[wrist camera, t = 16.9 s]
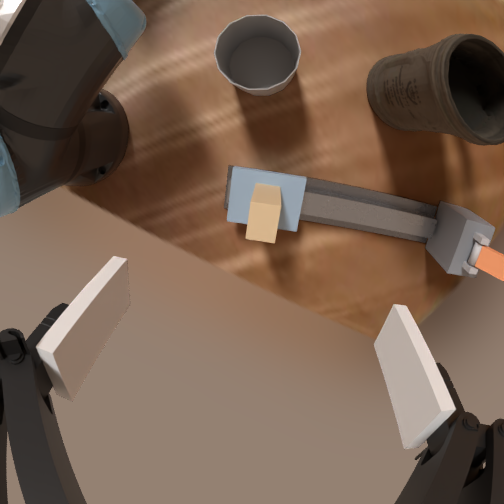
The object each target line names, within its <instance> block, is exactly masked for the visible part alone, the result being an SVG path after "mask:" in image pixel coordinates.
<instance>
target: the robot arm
mask: <svg viewBox="0 0 504 504" xmlns="http://www.w3.org/2000/svg"><path fill="white" fill-rule="evenodd" d="M145 28H146V16H145V14H144V13H143V11H142V10H141V9H140V8H139V7H138V6H137V5H136V4H135V3H134V2H133V1H132V0H0V217H2V216H4V215H7V214H9V213H14V212H15V211H17V209H18V208H20V207H21V206H23V205H25V204H27V203H29V202H31V201H32V200H34V199H36V198H38V197H40V196H42V195H44V194H46V193H48V192H50V191H52V190H54V189H56V188H58V187H60V186H62V185H71V186H87V185H92V184H94V183H97V182H99V181H101V180H103V179H105V178H106V177H108V176H109V175H110V174H111V173H113V172H114V170H115V169H116V168H117V167H118V165H119V164H120V162H121V161H122V159H123V156H124V154H125V151H126V147H127V143H128V123H127V118H126V115H125V112H124V109H123V107H122V106H121V104H120V102H119V101H118V100H117V99H116V98H115V97H114V96H113V95H112V94H111V93H109V92H108V91H106V90H104V89H102V88H103V87H104V85H105V84H106V82H107V81H108V79H109V78H110V77H111V75H112V74H113V73H114V71H115V70H116V68H117V67H118V66H119V64H120V63H121V62H122V61H123V60H125V59H126V58H127V56H128V55H127V54H128V52H129V51H130V49H131V48H132V47H133V45H134V44H135V43H136V41H137V40H138V39H139V37H140V36H141V35H142V34H143V32H144V30H145ZM129 306H130V295H129V281H128V263H127V259H126V258H121V257H116V256H113V257H112V258H111V259H110V260H109V261H108V262H107V264H106V265H105V266H104V267H103V268H102V269H101V270H100V271H99V272H98V273H97V275H96V276H95V277H94V278H93V279H92V280H91V281H90V282H89V283H88V284H87V285H86V287H85V288H84V289H83V290H82V291H81V292H80V293H79V294H78V296H77V297H76V298H75V299H74V300H73V301H72V303H71V304H70V305H68V304H65V303H62V304H60V305H58V306H57V307H55V308H53V309H52V310H51V311H50V313H49V314H48V315H47V316H46V318H44V319H43V321H42V322H41V324H39V325H38V327H37V328H36V329H35V330H34V331H33V333H32V334H31V335H30V336H29V337H28V339H27V340H26V341H25V338H24V336H23V333H22V332H21V331H20V330H17V329H14V328H12V329H6V330H3V331H1V332H0V504H8V501H7V482H6V481H7V480H6V447H7V430H8V434H9V441H10V446H11V451H12V455H13V460H14V464H15V469H16V473H17V476H18V480H19V484H20V487H21V491H22V494H23V497H24V500H25V503H26V504H87V503H86V501H85V499H84V496H83V494H82V492H81V489H80V487H79V485H78V482H77V480H76V477H75V474H74V472H73V469H72V467H71V464H70V461H69V458H68V455H67V453H66V449H65V446H64V443H63V440H62V437H61V434H60V431H59V427H58V423H57V419H56V416H55V412H54V408H53V404H52V400H51V396H50V394H49V392H50V390H51V388H52V387H53V388H54V390H55V391H56V394H57V395H59V396H61V397H63V398H66V399H68V400H70V401H73V400H74V398H75V396H76V394H77V392H78V391H79V389H80V387H81V385H82V384H83V382H84V380H85V378H86V377H87V375H88V373H89V371H90V370H91V368H92V366H93V364H94V363H95V361H96V359H97V358H98V356H99V354H100V353H101V351H102V349H103V348H104V346H105V344H106V343H107V341H108V339H109V338H110V336H111V334H112V333H113V331H114V330H115V328H116V326H117V325H118V323H119V321H120V320H121V318H122V317H123V315H124V314H125V312H126V310H127V309H128V307H129ZM374 347H375V350H376V353H377V355H378V359H379V362H380V365H381V368H382V372H383V375H384V378H385V381H386V385H387V388H388V391H389V395H390V398H391V402H392V405H393V409H394V412H395V416H396V419H397V423H398V427H399V431H400V435H401V439H402V443H403V447H404V449H411V448H418V447H420V446H421V445H422V444H423V443H424V442H425V441H426V440H427V443H428V447H427V448H425V449H424V450H423V451H422V452H421V453H420V454H419V455H418V456H417V457H416V458H415V460H417V459H418V458H419V457H421V458H420V460H419V462H418V464H417V465H416V467H415V470H414V471H413V473H412V475H411V477H410V479H409V481H408V482H407V484H406V486H405V487H404V489H403V491H402V492H401V494H400V496H399V497H398V499H397V501H396V502H395V504H504V419H497V420H495V422H494V423H493V424H492V425H491V426H490V425H484V424H480V422H479V420H478V419H477V417H476V416H474V415H473V414H472V413H469V412H465V411H464V408H463V406H462V404H461V401H460V399H459V397H458V395H457V392H456V390H455V388H453V383H452V381H450V377H449V375H448V373H447V371H446V370H445V368H444V367H443V366H442V365H441V364H440V363H435V361H434V359H433V357H432V355H431V353H430V351H429V349H428V347H427V345H426V343H425V341H424V339H423V337H422V335H421V333H420V331H419V329H418V327H417V325H416V323H415V321H414V319H413V317H412V316H411V314H410V312H409V310H408V308H407V306H405V305H397V304H394V305H393V307H392V309H391V311H390V313H389V315H388V317H387V319H386V321H385V323H384V326H383V328H382V330H381V332H380V334H379V335H378V337H377V339H376V341H375V343H374ZM485 462H486V466H485V468H484V469H483V463H485Z"/></svg>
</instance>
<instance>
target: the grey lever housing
mask: <svg viewBox="0 0 504 504" xmlns="http://www.w3.org/2000/svg"><path fill="white" fill-rule="evenodd" d="M435 218H436V219H437V223H436V227H435V230H434V233H433V236H432V239H430V238H428V241H427V244H426V247H425V249H426V250H427V251H428V252H429V253H430V254H431V255H432V256H433V258H434V259H435V260H436V261H437V262H438V263H439V264H440V266H441V267H442V268H443V269H444V270H445V271H446V272H447V273H449V274H455V275H461V276H467V277H473V278H476V276H477V274H478V272H479V268H477V267H475V266H473V265H471V264H469V263H468V260H469V257H470V255H471V252H472V249H473V247H474V244H475V241H477V242H479V243H480V244H483V245H486V246H488V247H489V244H490V242H491V239H492V236H493V233H494V230H495V227H493V226H492V225H491V224H489V223H488V222H486V221H485V220H483V219H482V218H481V217H479V216H478V215H476V214H475V213H473V212H472V211H470V210H469V209H466V208H463V207H460V206H457V205H453V204H450V203H447V202H443V201H440V203H439V207H438V210H437V213H436V217H435Z"/></svg>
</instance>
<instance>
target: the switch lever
mask: <svg viewBox="0 0 504 504" xmlns="http://www.w3.org/2000/svg"><path fill="white" fill-rule="evenodd" d="M468 263H469V264H471V265H473V266H475V267H477V268H479V269H481V270H483V271H485V272H487V273H489V274H491V275H493V276H495V277H496V278H498V279H500V280H502V281H504V255H503V254H501V253H499V252H497V251H495V250H493V249H491V248H490V247H488V246H486V245H483V244H480V243H479V242H477V241H475V244H474V247H473V249H472V252H471V255H470V257H469V260H468Z"/></svg>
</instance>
